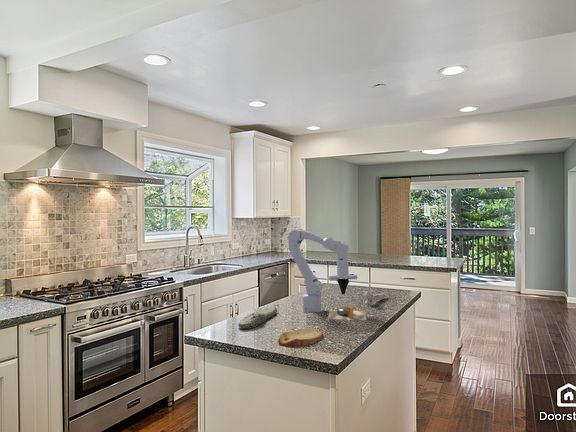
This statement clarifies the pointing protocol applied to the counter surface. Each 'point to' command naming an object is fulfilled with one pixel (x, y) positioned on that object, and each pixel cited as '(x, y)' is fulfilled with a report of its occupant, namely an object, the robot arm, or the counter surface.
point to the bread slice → (300, 337)
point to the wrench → (373, 297)
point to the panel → (356, 314)
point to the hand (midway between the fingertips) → (343, 294)
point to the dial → (345, 311)
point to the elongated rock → (257, 318)
